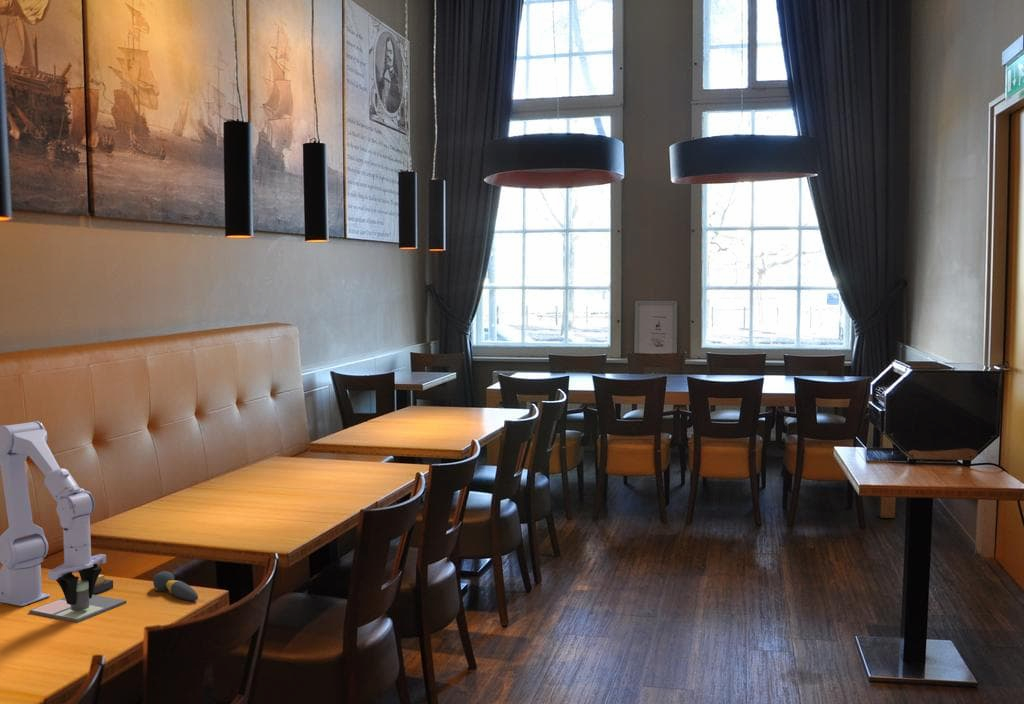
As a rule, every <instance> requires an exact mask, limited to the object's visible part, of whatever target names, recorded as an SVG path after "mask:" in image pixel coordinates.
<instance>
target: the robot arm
mask: <svg viewBox="0 0 1024 704" xmlns="http://www.w3.org/2000/svg"><path fill="white" fill-rule="evenodd" d="M47 441H48V432H47V430H46V427H45V426H44V425H43V423H42V422H40V421H39V420H33V421H30V422H23V423H16V424H7V425H4V424H3V425H0V471H1V472H0V473H1V478H2V485H3V491H4V492H3V493H4V494H3V495H4V500H5V506H6V507H5V508H6V514H7V515H6V516H7V521H8V528H7V529H6V530H5V531H4V532H3V533H2V534H1V535H0V564H1V565H2V567H1V568H0V603H3V604H8V605H13V606H18V607H24V606H27V605H29V604H33V603H35V602H39V601H41V600H44V599H47V598H50V597H51V594H50V593H43V592H42V591H43V590H42V589H43V588H42V567H41V566H42V565H41V563H43V562H44V559H45V557H46V556H47V555H48V551H49V542H48V540H47V538H46V536H45V531H44V529H43V528H42V527H40V526H39V525H37V524H35V523H34V522H33V515H32V506H31V499H30V493H29V487H28V479H27V478H28V477H27V471H26V470H27V469H26V464H25V461H26V459H27V458H28V457H29V459H31V461H33V463H35V466H37V468H38V469H39V470H40V471H41V472H42V473H43V475H44V476H45V478H44V480H43V483H44V486H45V487H46V489H47V491H48V492H49V493H50V494H51V496H52V497H53V499H54V500H55V502H56V503H57V505H56V507H55V508H56V510H55V511H56V513H57V516H58V518H59V525H60V527H61V528H62V532H63V533H62V534H63V535H62V537H63V559H64V560H63V561H64V562H63V563H62V564H60V565H58V566H56V567H55V568H52V569H51V570H48V572H47V573H48V580H52V581H56V582H57V584H58V585H59V587H60V588H61V591H62V593H63V595H64V597H65V598H66V602H67V604H70V605H74V604H76V588H77V583H78V580H87V581H89V599H90V598H92V594H93V590H94V586H95V583H96V580H97V578H98V576H99V574H100V575H101V572H102V567H101V566H98V565H100V564H106V563H107V555H106V554H103V553H99V554H95V555H92V543H91V540H92V539H91V521H90V520H91V519H90V517H91V515H92V514H93V513H94V512H95V508H96V501H95V498H94V496H93V495H92V493H91V492H90V491H89V490H85V489H84V488H83V487H81V488H80V486H79V485H78V483H77V481H76V480H75V479H74V477H73V476H72V474H71V473H70V472H69V470H68V469H67V468H62V467H60V466H59V464H58V462H57V460H56V458H55V456H54V454H53V453H52V451H51V449H50V447H49V445H48V443H47ZM77 572H78V574H79V576H77V575H76V576H75V575H74V573H77Z"/></svg>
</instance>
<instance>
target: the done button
mask: <svg viewBox="0 0 1024 704" xmlns="http://www.w3.org/2000/svg"><path fill="white" fill-rule="evenodd" d="M104 579H105V575H104V574H101V573H100V574H99V576H98V578H97V580H96V583H95V585H97V584H100V583H103V582H105V580H104Z"/></svg>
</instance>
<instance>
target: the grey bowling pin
mask: <svg viewBox="0 0 1024 704" xmlns="http://www.w3.org/2000/svg"><path fill="white" fill-rule="evenodd" d="M173 574H174V573H172V572H170V571H166V570H163V571H160V572H158V573H156V574H155V575H154V577H153V580H152V582H153V586H154V589H156V590H157V591H159V592H167V591H169V592H170V593H171V595H173V596H174V597H177V598H179V599H182V600H183V601H190V602H191V601H192V602H194V601H197V600H199V595H198V593H197V592H196V590H195V589H194V588H192V587H191V586H190V585H189V584H187V583H186V582H184V581H181V580H175V576H174V575H173Z"/></svg>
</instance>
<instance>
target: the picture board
mask: <svg viewBox="0 0 1024 704" xmlns="http://www.w3.org/2000/svg"><path fill="white" fill-rule="evenodd" d="M126 604H127V600H125V599H122V598H121V599H120V598H113V597H108V596H102V595H98V594H96V595H92V598H90V599H89V608H87V609H85V610H80V611H73V610H71V606H70V604H67V602H66V598H65V596H64V597H61V598H59V599H56V600H54V601H51V602H48V603H45V604H43V605H40V606H37V607H35V608H31V609H30V610H29V611H28V613H29V614H33V615H38V616H43V617H49V618H54V619H59V620H65V621H68V622H75V623H80V622H82V621H85V620H87V619H90V618H92V617H95V616H98V615H99V614H102V613H105V612H107V611H110V610H112V609H115V608H117V607H120V606H123V605H126Z"/></svg>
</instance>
